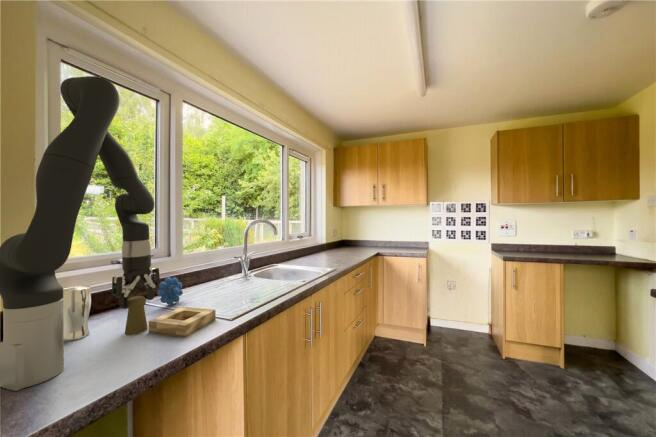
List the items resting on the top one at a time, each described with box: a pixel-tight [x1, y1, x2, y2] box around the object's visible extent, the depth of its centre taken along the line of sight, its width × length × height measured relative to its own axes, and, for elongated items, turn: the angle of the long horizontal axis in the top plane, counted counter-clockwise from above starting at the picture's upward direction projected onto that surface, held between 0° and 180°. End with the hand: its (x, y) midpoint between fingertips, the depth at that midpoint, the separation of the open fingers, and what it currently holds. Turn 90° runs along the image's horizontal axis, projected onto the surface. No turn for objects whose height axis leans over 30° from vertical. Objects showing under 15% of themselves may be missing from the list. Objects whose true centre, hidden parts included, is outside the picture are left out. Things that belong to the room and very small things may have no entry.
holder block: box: [148, 306, 216, 338], centre depth 88 cm, size 14×14×4 cm
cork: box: [124, 295, 149, 336], centre depth 84 cm, size 6×6×11 cm
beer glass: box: [63, 285, 92, 342], centre depth 80 cm, size 7×7×15 cm
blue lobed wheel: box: [157, 276, 184, 306], centre depth 109 cm, size 12×7×12 cm, turn 164°
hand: (138, 303), depth 85 cm, fingers open, 8 cm apart
